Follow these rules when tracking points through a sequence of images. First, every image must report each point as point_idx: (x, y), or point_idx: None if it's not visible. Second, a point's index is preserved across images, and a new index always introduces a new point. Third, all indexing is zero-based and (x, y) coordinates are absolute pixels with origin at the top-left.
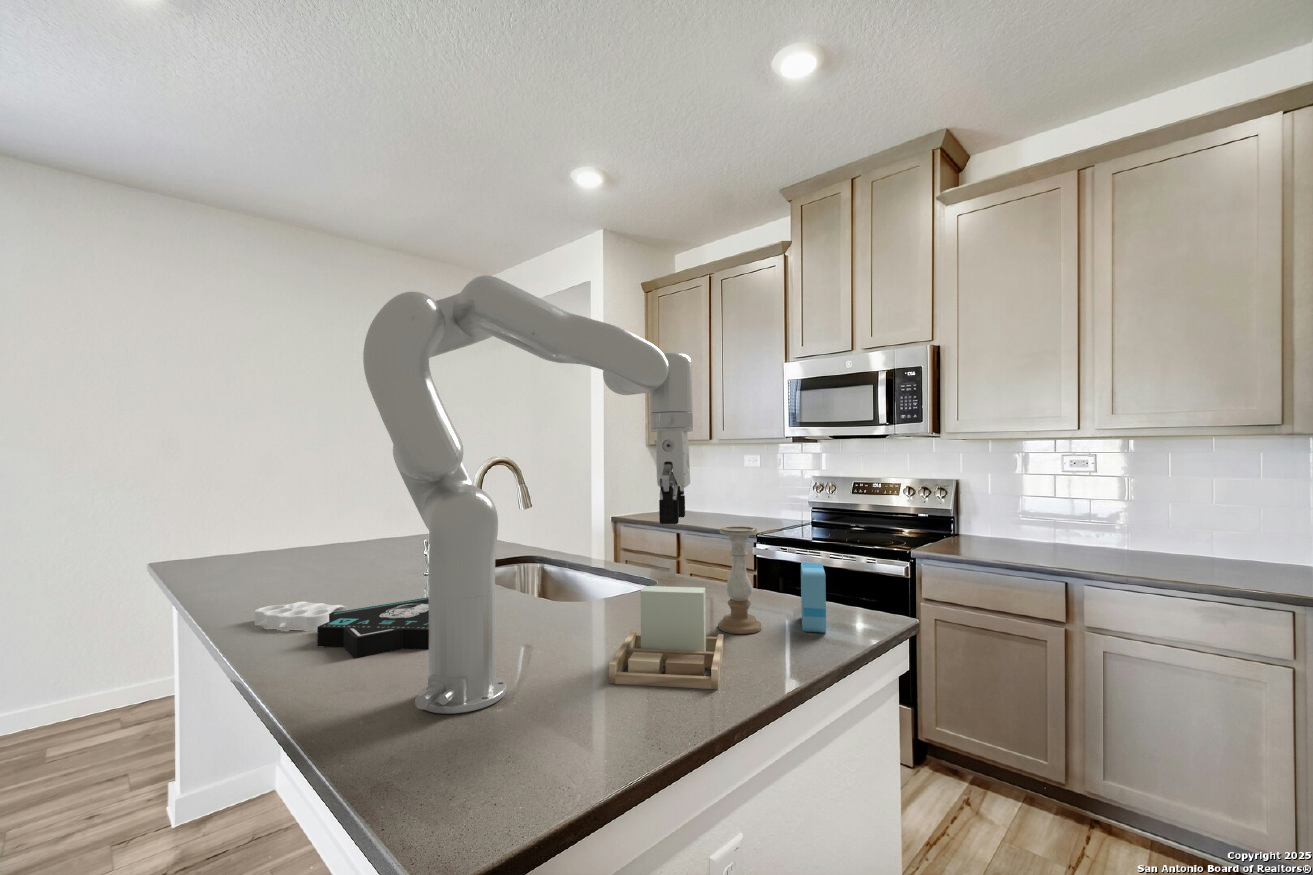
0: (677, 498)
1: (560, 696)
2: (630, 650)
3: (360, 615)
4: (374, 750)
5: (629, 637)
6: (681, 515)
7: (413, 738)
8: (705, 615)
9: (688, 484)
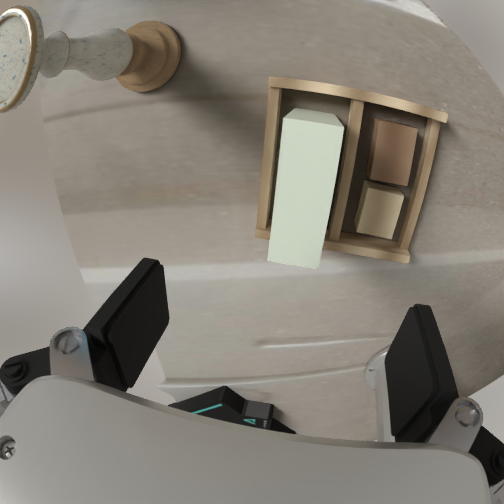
0: (124, 350)
1: (425, 296)
2: (339, 235)
3: None
4: (468, 381)
5: None
6: (160, 275)
7: (462, 370)
8: (294, 113)
9: (230, 433)
